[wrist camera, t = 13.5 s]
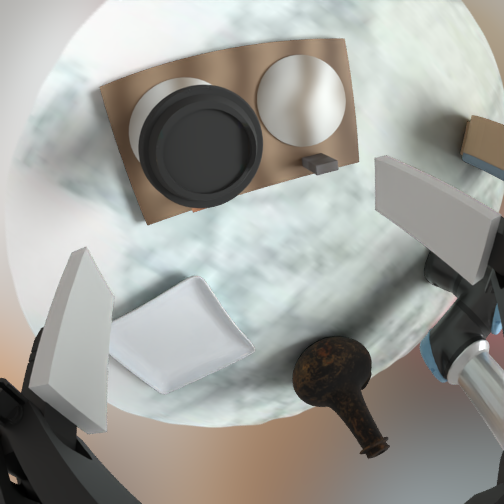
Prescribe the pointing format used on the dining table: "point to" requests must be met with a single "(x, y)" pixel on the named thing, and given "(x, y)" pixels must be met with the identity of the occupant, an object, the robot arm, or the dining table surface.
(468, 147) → the alarm clock
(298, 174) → the tag board
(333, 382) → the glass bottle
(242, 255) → the dining table surface
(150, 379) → the salad plate
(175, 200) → the coffee cup
